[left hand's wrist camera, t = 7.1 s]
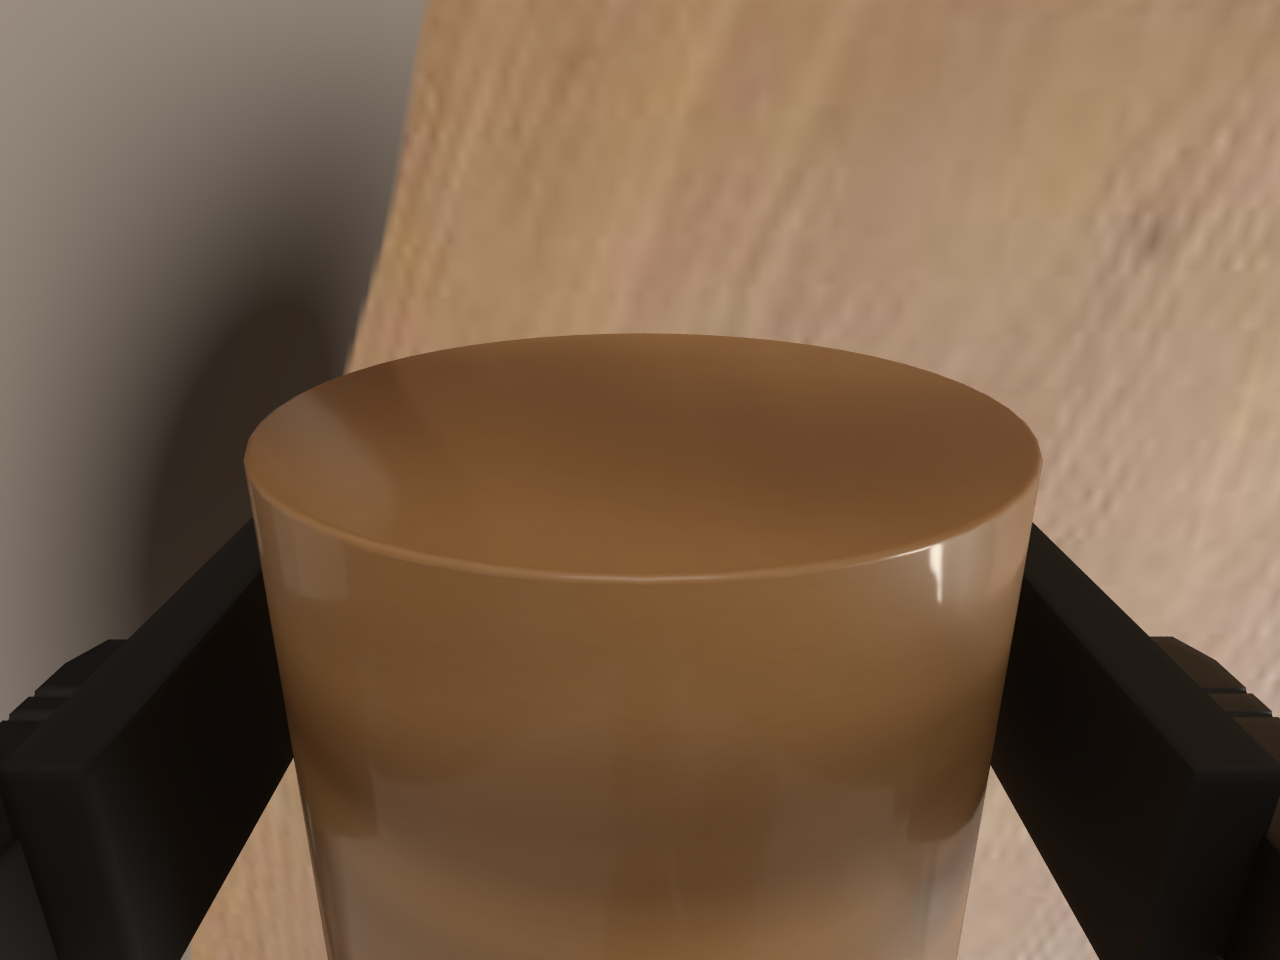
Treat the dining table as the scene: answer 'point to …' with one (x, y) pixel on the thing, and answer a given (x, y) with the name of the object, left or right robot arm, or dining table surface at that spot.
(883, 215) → the dining table surface
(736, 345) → the rod
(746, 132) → the dining table surface
